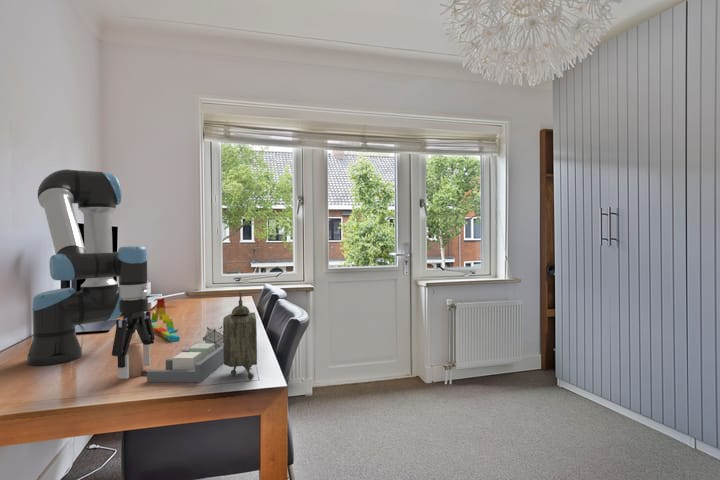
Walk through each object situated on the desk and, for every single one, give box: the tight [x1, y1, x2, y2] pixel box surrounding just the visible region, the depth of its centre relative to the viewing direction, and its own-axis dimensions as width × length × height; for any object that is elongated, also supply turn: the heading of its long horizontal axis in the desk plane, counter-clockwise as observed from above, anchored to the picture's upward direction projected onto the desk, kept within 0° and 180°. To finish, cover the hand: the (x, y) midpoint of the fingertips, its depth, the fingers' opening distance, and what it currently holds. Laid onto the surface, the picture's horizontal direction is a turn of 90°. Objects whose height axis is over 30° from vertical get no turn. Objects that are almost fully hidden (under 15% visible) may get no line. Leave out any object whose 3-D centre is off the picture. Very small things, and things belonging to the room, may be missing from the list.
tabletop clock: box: [222, 290, 258, 380], centre depth 126 cm, size 14×9×25 cm, turn 17°
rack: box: [146, 345, 224, 383], centre depth 132 cm, size 16×22×5 cm
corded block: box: [126, 342, 202, 378], centre depth 127 cm, size 21×6×9 cm, turn 87°
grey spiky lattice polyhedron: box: [202, 325, 223, 349], centre depth 155 cm, size 9×8×10 cm
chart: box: [150, 298, 181, 343], centre depth 178 cm, size 30×3×15 cm, turn 41°
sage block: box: [188, 342, 216, 359], centre depth 137 cm, size 6×6×6 cm
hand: (135, 371), depth 127 cm, fingers open, 11 cm apart
